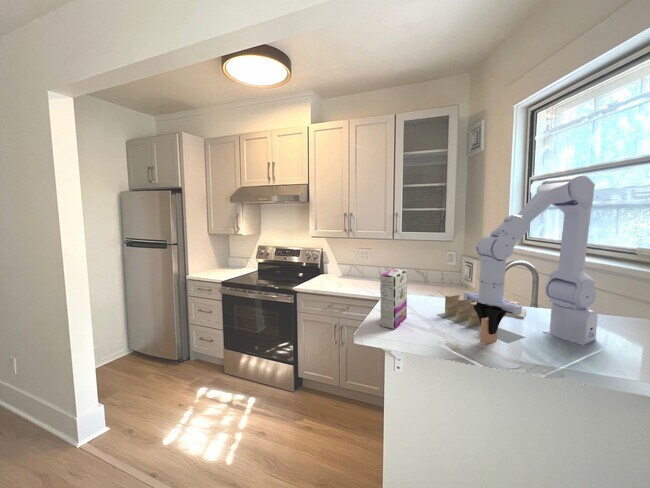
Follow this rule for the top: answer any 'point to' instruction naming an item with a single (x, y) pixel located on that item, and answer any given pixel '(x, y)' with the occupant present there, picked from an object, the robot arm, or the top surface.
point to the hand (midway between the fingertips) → (488, 332)
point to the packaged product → (512, 312)
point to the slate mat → (502, 334)
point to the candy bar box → (393, 298)
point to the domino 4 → (486, 332)
